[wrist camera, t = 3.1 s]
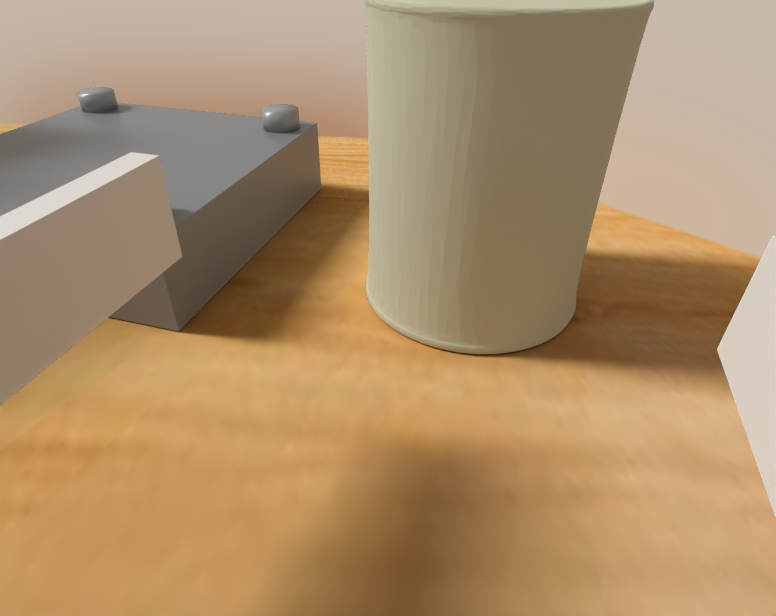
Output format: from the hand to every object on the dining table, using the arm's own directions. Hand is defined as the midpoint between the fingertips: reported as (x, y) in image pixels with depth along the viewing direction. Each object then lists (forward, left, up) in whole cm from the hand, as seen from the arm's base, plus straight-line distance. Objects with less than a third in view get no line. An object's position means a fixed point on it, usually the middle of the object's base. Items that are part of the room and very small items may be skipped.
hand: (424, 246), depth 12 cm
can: (0, -10, -8) cm, 13 cm away
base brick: (+18, -11, -7) cm, 22 cm away
